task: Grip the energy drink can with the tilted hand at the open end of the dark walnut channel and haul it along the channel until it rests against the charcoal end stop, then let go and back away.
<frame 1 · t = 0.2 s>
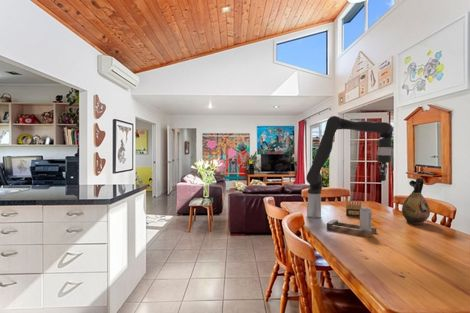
hand: (383, 180, 164), 29 cm above the table, tool pointing down, fingers open, 8 cm apart
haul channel: (351, 231, 157), on the table
energy drink can: (365, 234, 152), on the table
ammunition clip: (353, 216, 196), on the table
ceramic jug: (416, 223, 175), on the table
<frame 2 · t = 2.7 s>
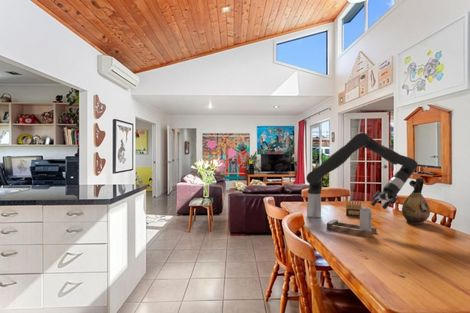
hand: (377, 206, 154), 15 cm above the table, tool tilted 45°, fingers open, 8 cm apart
nothing on the table moved.
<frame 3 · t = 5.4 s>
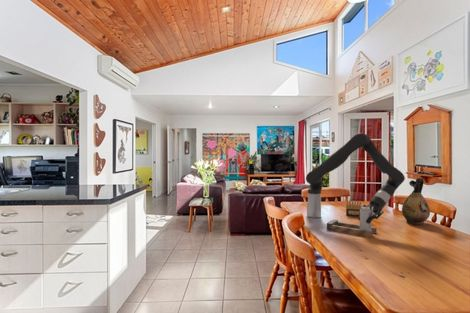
hand: (363, 221, 151), 7 cm above the table, tool tilted 45°, fingers closed on energy drink can, 6 cm apart
energy drink can: (365, 234, 152), on the table, touching gripper
everything else where it was.
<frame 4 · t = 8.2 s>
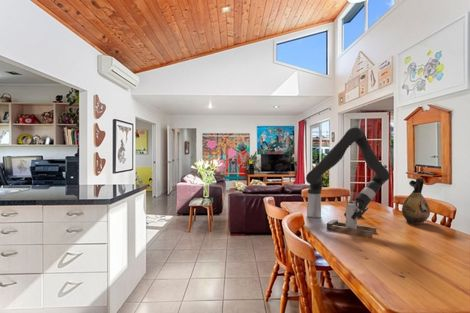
hand: (348, 217, 156), 8 cm above the table, tool tilted 45°, fingers closed on energy drink can, 6 cm apart
energy drink can: (351, 229, 157), point 1 cm above the table, touching gripper
everything else where it was.
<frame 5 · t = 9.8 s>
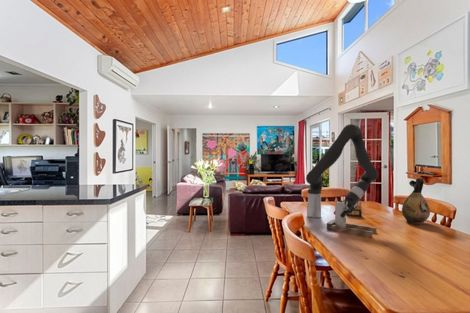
hand: (338, 215, 160), 9 cm above the table, tool tilted 45°, fingers closed on energy drink can, 6 cm apart
energy drink can: (340, 227, 161), point 1 cm above the table, touching gripper
everything else where it was.
when the fingers open (8 cm above the table, at t = 11.0 s): energy drink can stays where it is, on the table.
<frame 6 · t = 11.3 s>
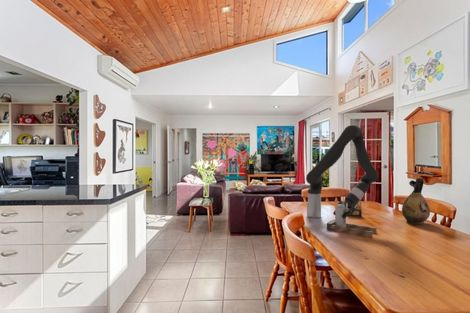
hand: (338, 216, 160), 8 cm above the table, tool tilted 45°, fingers open, 8 cm apart
energy drink can: (340, 229, 161), on the table
everything else where it was.
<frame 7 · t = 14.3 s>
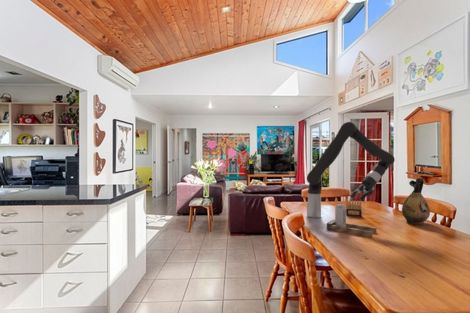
hand: (356, 198, 164), 18 cm above the table, tool tilted 45°, fingers open, 8 cm apart
nothing on the table moved.
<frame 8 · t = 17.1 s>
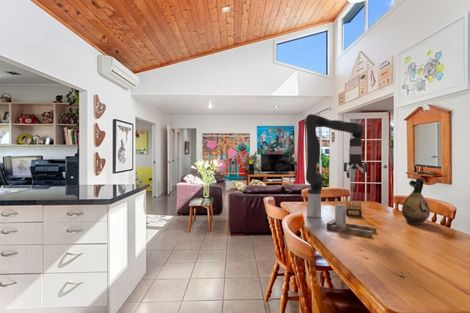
hand: (355, 178, 171), 30 cm above the table, tool pointing down, fingers open, 8 cm apart
nothing on the table moved.
at the end: energy drink can 0.3 cm from the target spot on the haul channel, point 0.0 cm above the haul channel's base; energy drink can tilted 0°; the gripper is holding nothing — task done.
